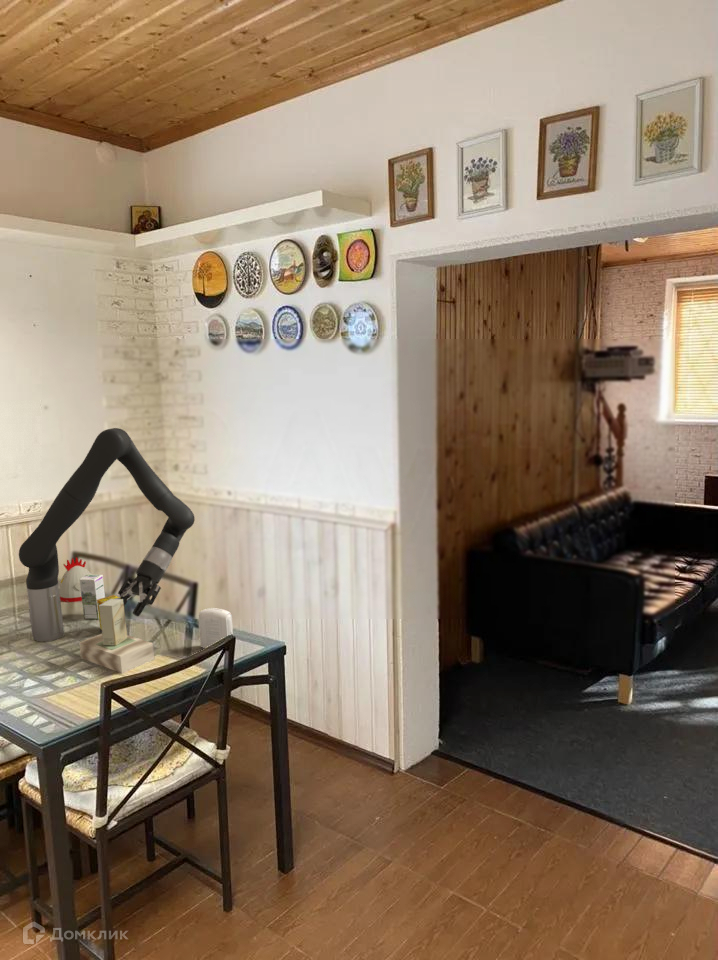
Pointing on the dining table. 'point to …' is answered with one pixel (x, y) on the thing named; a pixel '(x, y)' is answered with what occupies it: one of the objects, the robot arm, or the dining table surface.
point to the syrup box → (91, 594)
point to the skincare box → (113, 622)
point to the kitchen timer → (72, 581)
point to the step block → (117, 653)
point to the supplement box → (102, 600)
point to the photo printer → (214, 625)
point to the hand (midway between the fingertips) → (126, 612)
